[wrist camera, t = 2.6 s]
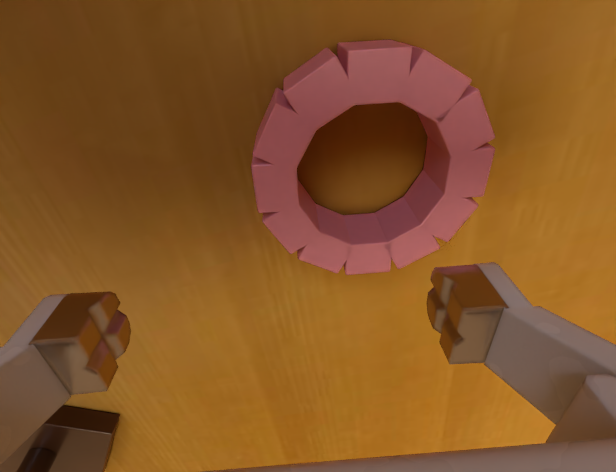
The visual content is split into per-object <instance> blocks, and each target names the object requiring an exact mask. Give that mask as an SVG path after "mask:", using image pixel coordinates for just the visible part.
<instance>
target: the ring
mask: <svg viewBox="0 0 616 472" xmlns="http://www.w3.org/2000/svg"><path fill="white" fill-rule="evenodd" d="M471 81H472V80H471V79H470V78H468V77H467V76H465V75H464V74H462V73H461V72H459V71H458V70H456V69H454V68H453V67H451V66H450V65H448V64H447V63H445V62H443V61H442V60H440V59H439V58H437V57H436V56H434V55H432V54H431V53H429V52H428V51H426V50H424V49H421V48H418V47H415V46H412V45H409V44H406V43H400V42H396V41H393V40H375V41H359V42H344V43H338V44H337V56H336V55H335V54H334V53H333V52H332V51H331V50H330V49H329V48H325V49H324V50H322V51H321V52H319V53H318V54H317V55H315V56H314V57H313V58H311V59H310V60H309V61H307V62H306V63H304V64H303V65H302V66H300V67H299V68H298V69H296V70H295V71H293V72H292V73H291V74H289V75H288V76H287V77H285V78H284V79H283V90H281V89H279V88H276V89H275V92H274V94H273V96H272V99H271V101H270V103H269V106H268V108H267V110H266V113H265V115H264V117H263V119H262V122H261V124H260V126H259V129H258V131H257V134H256V139H255V144H254V149H253V160H252V165H251V170H252V176H253V183H254V190H255V196H256V203H257V210H258V212H259V213H263V220H262V221H263V223H264V224H265V225H266V227H267V228H268V229H269V230H270V231H271V232H272V233H273V235H274V236H275V237H276V238H277V239H278V240H279V242H280V243H281V244H282V245H283V246H284V247H285V249H286V250H287V251H288V252H289V253H290V254H292V253H294V252H295V251H297V253H298V259H299V260H302V261H305V262H307V263H310V264H313V265H315V266H318V267H321V268H324V269H326V270H329V271H332V272H334V273H338V272H339V270H340V269H341V268H342V266H343V265H344V269H345V273H346V275H352V274H365V273H377V272H389V271H390V266H391V259H392V260H393V262H394V263H395V265H396V266H397V268H398V269H400V268H402V267H404V266H406V265H408V264H410V263H412V262H414V261H416V260H418V259H420V258H422V257H424V256H426V255H428V254H430V253H432V252H434V251H436V250H438V249H440V246H439V245H438V243H437V241H436V239H435V237H437V238H439V239H442V240H444V241H446V242H448V241H449V240H450V239H451V237H452V236H453V235H454V234H455V233H456V232H457V230H458V229H459V228H460V227H461V226H462V225H463V223H464V222H465V221H466V220H467V219H468V218H469V216H470V215H471V214H472V213H473V212H474V210H475V209H476V208H477V207H478V204H477V203H476V202H475V201H474V200H473V199H472V198H471V197H481V196H483V195H484V192H485V188H486V184H487V180H488V176H489V172H490V168H491V164H492V160H493V156H494V152H495V148H494V147H493V146H491V145H490V144H488V143H487V142H489V141H491V140H492V139H494V138H495V135H494V132H493V129H492V126H491V123H490V120H489V117H488V115H487V112H486V109H485V106H484V103H483V100H482V97H481V94H480V91H479V89H477V88H475V87H472V86H470V85H469V84H470V83H471ZM394 102H400V103H402V104H404V105H406V106H407V107H409V108H411V109H413V110H414V111H416V112H417V114H418V116H419V118H420V121H421V123H422V125H423V127H424V129H425V132H426V134H427V136H428V139H427V146H426V153H425V160H424V168H423V170H422V172H421V173H420V174H419V176H418V177H417V179H416V180H415V181H414V183H413V184H412V186H411V187H410V188H409V190H408V191H407V193H406V194H405V195H404V197H402V198H400V199H398V200H396V201H395V202H393V203H391V204H389V205H388V206H386V207H384V208H382V209H380V210H379V211H377V212H375V213H367V214H354V215H341V214H339V213H336V212H334V211H331V210H329V209H327V208H324V207H322V206H320V205H317V204H315V202H314V201H313V199H312V198H311V197H310V195H309V194H308V193H307V191H306V190H305V189H304V187H303V186H302V184H301V183H300V182H299V180H298V178H297V167H298V165H299V163H300V161H301V159H302V157H303V155H304V153H305V151H306V149H307V147H308V145H309V143H310V141H311V139H312V138H313V136H314V134H315V132H316V130H318V129H319V128H321V127H322V126H324V125H325V124H327V123H328V122H330V121H331V120H333V119H334V118H336V117H337V116H339V115H340V114H342V113H343V112H345V111H346V110H348V109H349V108H351V107H352V106H354V105H364V104H379V103H394ZM434 236H435V237H434Z"/></svg>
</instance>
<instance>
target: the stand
mask: <svg viewBox="0 0 616 472" xmlns="http://www.w3.org/2000/svg"><path fill="white" fill-rule="evenodd" d="M119 416H120V415H119V414H113V413H106V412H100V411H94V410H88V409H82V408H75V407H69V406H63V405H62V406H61V407H60V408H59V409H58V410H57V411H56V412H55V413H54V414H53V415H52V416H51V417H50V418H49V419H48V420H47V421H46V422H45V423H43V424H42V425H41V426H40V427H39V428H38V429H37V430H36V431H35V432H34V433H33V434H32V435H31V436H30V437H29V438H28V439H27V440H26V441H25V442H24V443H23V444H22V445H21V446H20V447H19V448H18V449H17V450H16V451H15V452H13V453H12V454H11V455H10V456H9V457H8V458H7V459H6V460H5V461H4V462H3V463H2V464H1V465H0V472H104V471H105V469H106V465H107V461H108V457H109V454H110V450H111V446H112V442H113V439H114V435H115V431H116V427H117V423H118V420H119Z"/></svg>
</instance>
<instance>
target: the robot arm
mask: <svg viewBox="0 0 616 472" xmlns="http://www.w3.org/2000/svg"><path fill="white" fill-rule="evenodd" d="M431 282H432V284H433V286H434V287H433V288H432V289H431V290H430V291H429V292H428V297H427V312H428V316H429V320H430V322H431V325H432V327H433V329H435V330H436V331H438V332H439V333H441V337H440V345H441V347H442V349H443V351H444V353H445V355H446V358H447V360H448V362H449V364H465V363H484V362H485V363H484V364H485V365H486V366H487V367H488V368H489V369H491V370H492V371H493V372H494V373H495V374H496V375H498V376H499V377H500V378H501V379H502V380H504V381H505V382H506V383H507V384H508V385H510V386H511V387H512V388H513V389H514V390H515V391H517V392H518V393H519V394H520V395H521V396H523V397H524V398H525V399H526V400H527V401H529V402H530V403H531V404H532V405H533V406H534V407H536V408H537V409H538V410H539V411H540V412H542V413H543V414H544V415H545V416H546V417H548V418H549V419H550V420H551V421H552V422H553V423H555V424H556V426H555V427H554V429H553V431H552V432H551V434H550V436H549V437H548V439H547V441H546V443H543V444H531V445H519V446H507V447H495V448H483V449H470V450H458V451H446V452H434V453H422V454H409V455H397V456H385V457H373V458H360V459H348V460H336V461H323V462H311V463H299V464H287V465H275V466H263V467H251V468H238V469H226V470H214V471H202V472H616V345H615V344H613V343H611V342H609V341H607V340H605V339H603V338H601V337H599V336H597V335H595V334H593V333H591V332H589V331H587V330H585V329H583V328H581V327H579V326H577V325H575V324H573V323H571V322H569V321H567V320H566V319H564V318H562V317H560V316H558V315H556V314H554V313H552V312H550V311H548V310H546V309H544V308H542V307H540V306H536V307H533V306H532V305H531V303H530V302H529V301H528V300H527V299H526V297H525V296H524V295H523V294H522V293H521V291H520V290H519V289H518V288H517V287H516V285H515V284H514V283H513V282H512V280H511V279H510V278H509V277H508V276H507V274H506V273H505V272H504V271H503V270H502V268H501V267H500V266H499V265H498V264H496V263H494V262H490V263H480V264H473V265H461V266H449V267H436V268H434V270H433V271H432V275H431ZM119 305H120V301H119V299H118V298H117V296H116V294H115V293H113V292H90V293H71V294H58V295H50V296H47V297H45V298H43V300H42V301H41V302H40V303H39V304H38V306H37V307H36V308H35V309H34V310H33V312H32V313H31V314H30V315H29V316H28V318H27V319H26V320H25V321H24V322H23V324H22V325H21V326H20V327H19V328H18V330H17V331H16V332H15V333H14V334H13V336H12V337H11V338H10V339H9V340H8V342H7V343H6V344H5V345H4V346H3V347H0V465H1V464H2V463H3V462H4V461H5V460H6V459H7V458H8V457H9V456H10V455H11V454H12V453H13V452H15V451H16V450H17V449H18V448H19V447H20V446H21V445H22V444H23V443H24V442H25V441H26V440H27V439H28V438H29V437H30V436H31V435H32V434H33V433H34V432H35V431H36V430H37V429H38V428H39V427H40V426H41V425H42V424H43V423H45V422H46V421H47V420H48V419H49V418H50V417H51V416H52V415H53V414H54V413H55V412H56V411H57V410H58V409H59V408H60V407H61V406H62V405H63V404H64V403H65V402H66V401H67V400H68V399H69V398H70V397H71V395H74V394H83V393H93V392H102V391H107V390H108V388H109V386H110V383H111V381H112V379H113V377H114V375H115V373H116V371H117V368H118V365H117V362H116V359H117V358H118V357H120V356H121V355H122V354H123V353H124V352H125V351H126V349H127V346H128V344H129V341H130V334H131V329H130V323H129V320H128V318H127V316H126V315H125V314H123V313H122V312H120V311H119V310H117V309H118V307H119Z"/></svg>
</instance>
